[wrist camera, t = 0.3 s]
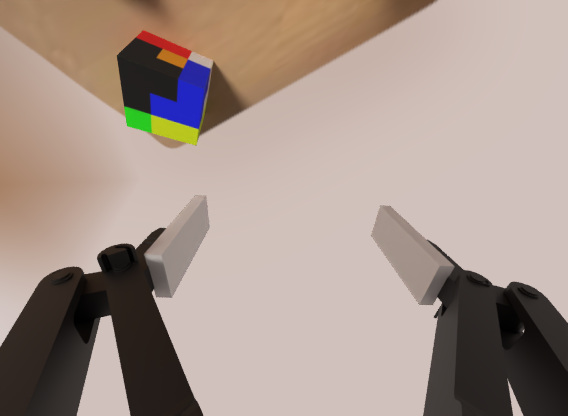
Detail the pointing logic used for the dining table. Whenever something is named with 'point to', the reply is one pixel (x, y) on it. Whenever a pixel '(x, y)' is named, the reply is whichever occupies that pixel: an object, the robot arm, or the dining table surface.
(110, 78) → the dining table surface
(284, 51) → the dining table surface
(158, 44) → the puzzle toy
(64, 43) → the dining table surface
